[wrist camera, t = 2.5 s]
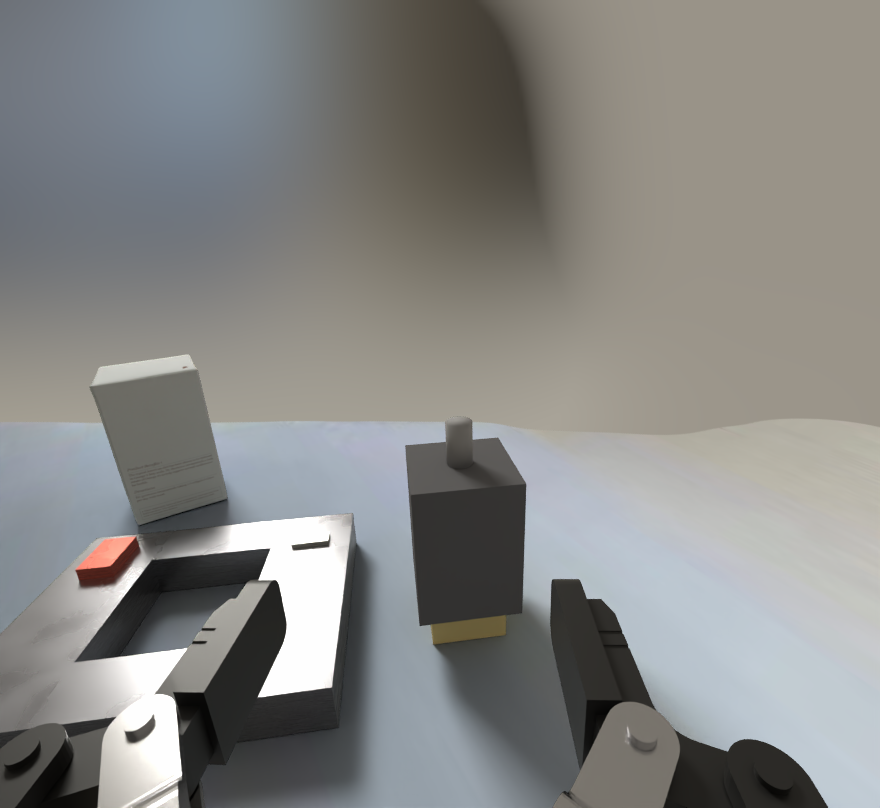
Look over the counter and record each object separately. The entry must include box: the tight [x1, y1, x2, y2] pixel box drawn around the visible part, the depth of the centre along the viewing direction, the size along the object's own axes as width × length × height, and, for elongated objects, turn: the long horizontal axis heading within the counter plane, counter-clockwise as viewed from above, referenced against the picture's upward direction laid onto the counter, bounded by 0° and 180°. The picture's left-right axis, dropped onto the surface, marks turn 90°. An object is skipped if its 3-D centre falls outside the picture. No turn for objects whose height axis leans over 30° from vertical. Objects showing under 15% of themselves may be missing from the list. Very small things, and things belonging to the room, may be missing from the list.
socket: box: [0, 513, 356, 749], centre depth 26 cm, size 18×14×3 cm
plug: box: [405, 416, 526, 645], centre depth 25 cm, size 6×6×13 cm
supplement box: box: [90, 355, 228, 525], centre depth 39 cm, size 7×7×13 cm
